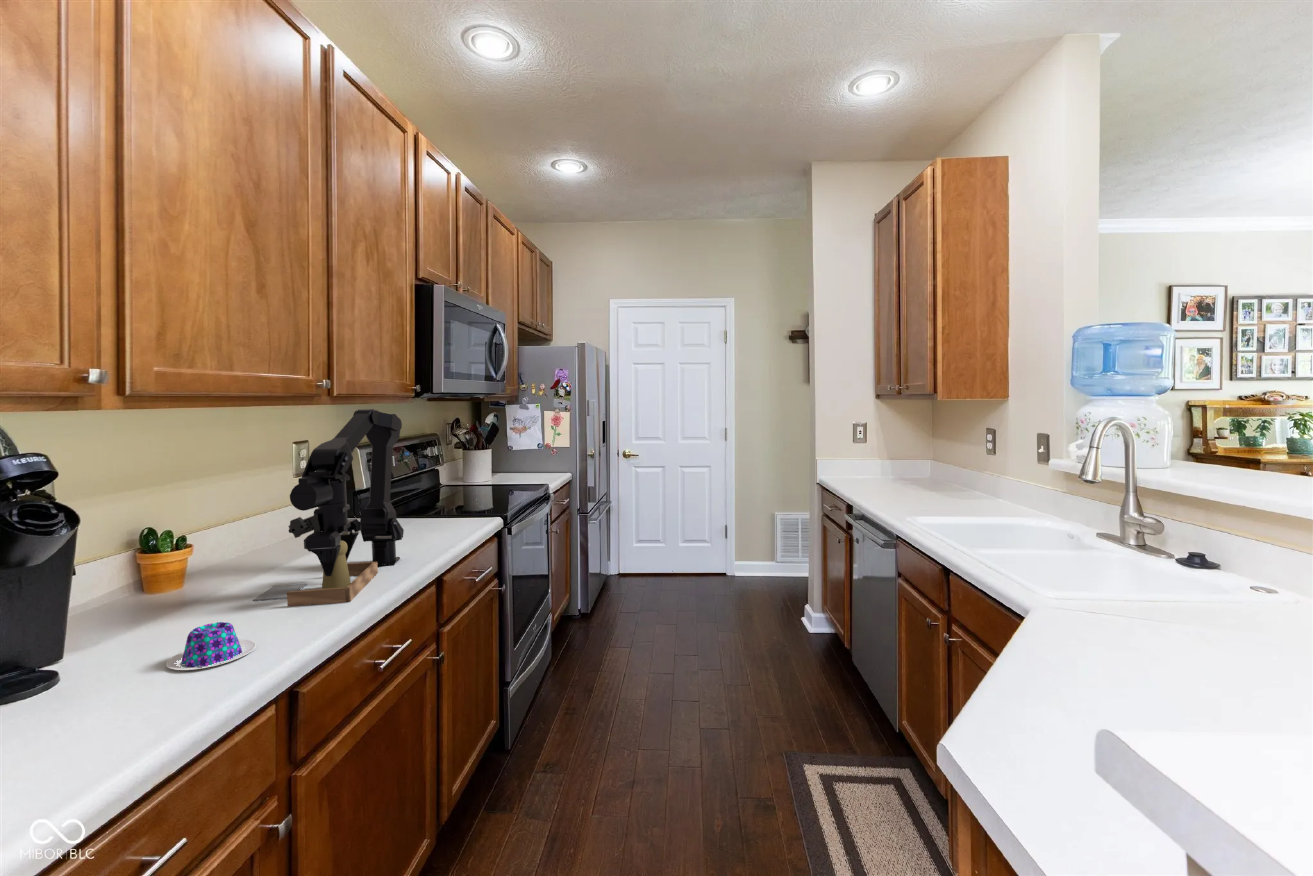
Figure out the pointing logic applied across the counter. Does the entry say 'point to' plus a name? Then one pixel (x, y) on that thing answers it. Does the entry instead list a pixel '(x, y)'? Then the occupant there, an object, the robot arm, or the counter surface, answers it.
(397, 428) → the robot arm
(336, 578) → the cork
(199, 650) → the patterned hat
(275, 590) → the grey mat
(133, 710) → the counter surface
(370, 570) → the wooden u-shaped frame
